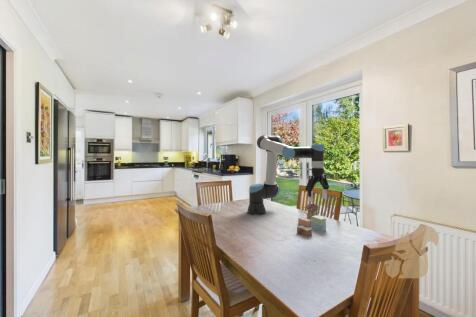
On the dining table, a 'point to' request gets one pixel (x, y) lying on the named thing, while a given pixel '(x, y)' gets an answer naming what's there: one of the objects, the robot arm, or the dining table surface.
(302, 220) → the terracotta brick
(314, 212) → the mug
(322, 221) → the sage brick
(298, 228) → the walnut brick
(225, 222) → the dining table surface
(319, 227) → the blue brick
